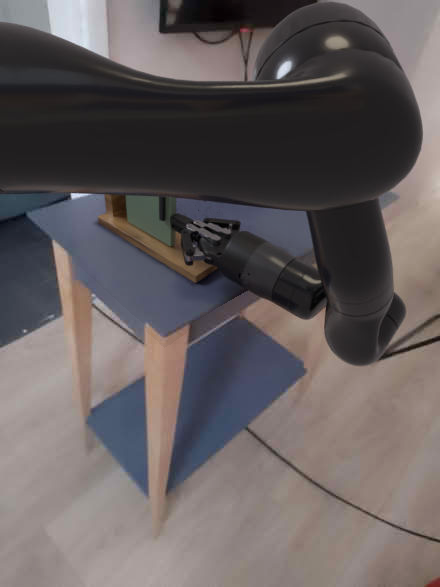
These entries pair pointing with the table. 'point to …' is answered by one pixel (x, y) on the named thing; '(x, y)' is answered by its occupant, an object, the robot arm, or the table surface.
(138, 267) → the table surface
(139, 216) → the door
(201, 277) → the door frame
